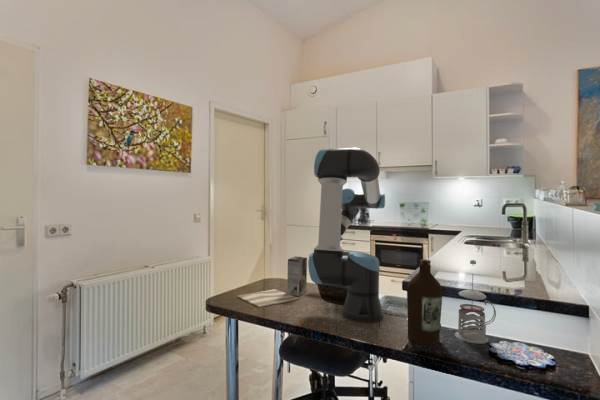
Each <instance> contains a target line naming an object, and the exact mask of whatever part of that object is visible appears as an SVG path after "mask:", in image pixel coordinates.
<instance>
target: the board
mask: <svg viewBox="0 0 600 400" xmlns="http://www.w3.org/2000/svg"><path fill="white" fill-rule="evenodd" d="M236 297H237V298H239V299H241V300H243V301H244V302H246V303H248V304H251V305H253V306H255V307H256V308H264V307H265V308H266V307H269V306H274V305H279V304H284V303H289V302H293V301H298V300H299V299H300V298H299V297H298V296H295V295H289V294H287V292H284V291H281V290H279V289H276V288H273V289H269V290H262V291H257V292H250V293H246V294H240V295H237V296H236Z"/></svg>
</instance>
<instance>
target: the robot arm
mask: <svg viewBox="0 0 600 400" xmlns="http://www.w3.org/2000/svg"><path fill="white" fill-rule="evenodd" d="M313 173H314V174H313V175H314V176H315V177H316V178H317V181H318V183H320V186H321V189H320V206H319V209H320V210H319V221H318V223H319V224H318V225H319V226H318V238H317V239H318V244H317V245H316V246H315V247H314V248H313V252H311V253H310V254H309V255H308V259H307V269H308V274H309V278H310V280H311V281H312V283H314V284H319V285H323V286H325V285H328V286H339V287H346V288H347V295H346V297H345V300H344V304H343V307H342V312H341V313H342V316H343V318H346V319H347V320H351V321H352V322H353V321H354V322H359V323H375V322H379V321H381V320H383V318H384V309H383V308H382V304H381V299H380V292H379V291H380V271H381V269H380V260H379V258H378V257H377V256H375V255H372V254H369V253H366V252H359V251H349V252H348V254H347V255H344V254H345V253H344V252H345V250H344V249H343V248H342V247H341V241H342V240H343V237H342V236H343V235H344V234H345V232H346V230H347V229H348V228H349V226H350V225H351V224H352V222H353V220H354V219H355V218H356V217H357V215H358V214H359V212H360V210H361V209H374V210H378V209H385V207H386V194H385V193H382V192H381V191H380V190H381V189H380V184H379V181H380V180H379V176H380V165H379V163H378V161H377V159H376V158H375V157H374V156H373V155H372V154H371V153H370V152H369V151H366V149H362V148H358V147H345V148H344V147H341V148H339V147H329V148H322V149H319V151H318V152H317V153H316V155H315V159H314V164H313ZM348 178H358V180H359V181H360V183H361V184H360V185H361V188H362V192H355V191H354V190H353V189H351V188H348V187H347V188H344V186H345V185H346V184H347V183H348Z"/></svg>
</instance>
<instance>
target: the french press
mask: <svg viewBox="0 0 600 400" xmlns="http://www.w3.org/2000/svg"><path fill="white" fill-rule="evenodd" d="M469 264H471V265H477V261H476V260H474V259H473V260H471V259H470V261H469ZM471 278H472V280H471V281H472V282H471V283H472V284H471V285H472V286H471V289H464V290H461V291H459V292H458V295H459V296H460V297H462V298H464V299H469V300H471V303H464V304H463V303H462V304H460V305H459V307H460V309H458V326H457V327H458V328H457V329H458V330H457V331H456V332H455V333H454V336H455V337H456V338H457V339H459V340H460V341H464V342H465V343H466V342H467V343H471V344H486V343H489V339H488V337H487V336H486V331H487V325H490V324H492V323H493V322H494V321H495V319H496V315H497V311H496V308H495V307H494V305H493V303H492V302H490V300H488V299H487V295H485V294H484V293H483V292H481V291H478V290H476V289H474V274H472V277H471ZM474 300H476V301H477V300H478V301H480V300H484V306H487V304H489V305H491V306H492V309H493V316H492V318H490V320H488V321H486V314H485V312H484V311H485V307H483V306H480V305H476V304H473V301H474ZM474 313H475V314H474Z"/></svg>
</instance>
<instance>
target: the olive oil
mask: <svg viewBox="0 0 600 400" xmlns="http://www.w3.org/2000/svg"><path fill="white" fill-rule="evenodd" d="M418 266H419V267H418V268H419V270H418V273H416V274H415V275H414V276H413V277H412V278H411V279H410V280H409V281H408V284H407V288H406V301H407V302H406V303H407V304H406V305H407V306H406V307H407V308H406V309H407V338H408V339H409V340H410V341H412V342H414V343H416V344H419V345H423V346H424V345H425V346H433V345H438V344H439V342H440V338H441V337H440V335H441V332H440V331H441V329H442V324H441V323H442V322H441V321H442V320H441V319H442V318H441V316H442V307H443V288H442V285H441V283H440V282H439V280H438V279H437V278H436V277H435V276H434V275H433V274H432V272H431V268H432V265H431V259H419V265H418Z"/></svg>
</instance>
